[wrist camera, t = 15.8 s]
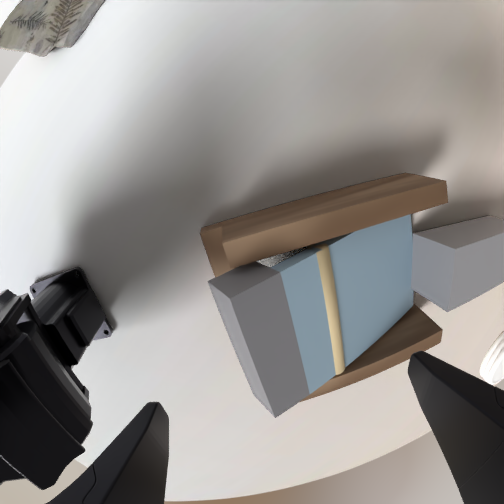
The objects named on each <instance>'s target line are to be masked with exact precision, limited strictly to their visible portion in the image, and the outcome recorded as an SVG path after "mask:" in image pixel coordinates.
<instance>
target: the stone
mask: <svg viewBox="0 0 504 504" xmlns="http://www.w3.org/2000/svg"><path fill="white" fill-rule="evenodd" d="M503 282H504V219H501V218H497V217H494V216H490V215H489V216H485V217H480V218H476V219H472V220H468V221H464V222H460V223H455V224H451V225H447V226H443V227H438V228H434V229H430V230H425V231H421V232H417V233H413V253H412V276H411V289H412V290H414V291H415V292H417V293H419V294H420V295H422V296H423V297H425V298H426V299H428V300H430V301H431V302H433V303H434V304H436V305H437V306H439V307H440V308H442V309H443V310H445V311H446V312H449V311H451V310H453V309H455V308H457V307H459V306H461V305H463V304H465V303H467V302H469V301H470V300H472V299H474V298H476V297H478V296H480V295H482V294H483V293H485V292H487V291H489V290H491V289H492V288H494V287H496V286H498V285H499V284H501V283H503Z"/></svg>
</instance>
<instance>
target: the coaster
mask: <svg viewBox="0 0 504 504" xmlns="http://www.w3.org/2000/svg"><path fill="white" fill-rule="evenodd" d="M480 375H481V377H483V378H484V380H485V381H487V383H489V384H491V385H494V384H497V383H498V382H500V381H501V380H502V379H503V378H504V332H502V333H501V334H500V336H499V337H498V338H497V339H496V340H495V341H494V343H493V344H492V346H491V347H490V348H489V350H488V352H487V353H486V355H485V357H484V359H483V361H482V363H481V366H480Z"/></svg>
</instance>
